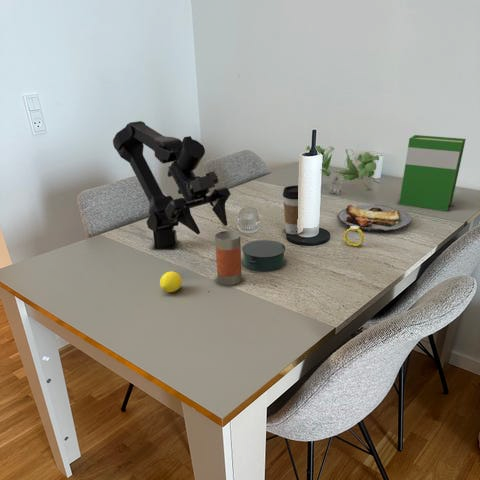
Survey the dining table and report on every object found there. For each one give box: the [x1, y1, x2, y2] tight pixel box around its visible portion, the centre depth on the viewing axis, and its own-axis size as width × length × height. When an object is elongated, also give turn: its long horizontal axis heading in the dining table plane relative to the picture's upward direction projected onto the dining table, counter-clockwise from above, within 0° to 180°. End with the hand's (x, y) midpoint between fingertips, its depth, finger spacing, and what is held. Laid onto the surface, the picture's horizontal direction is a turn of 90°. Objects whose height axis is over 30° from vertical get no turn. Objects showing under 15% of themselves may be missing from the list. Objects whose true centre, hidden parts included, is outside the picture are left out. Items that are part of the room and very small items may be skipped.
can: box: [214, 230, 242, 286], centre depth 125 cm, size 7×7×13 cm
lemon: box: [159, 270, 183, 293], centre depth 123 cm, size 7×5×5 cm
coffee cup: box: [282, 185, 299, 236], centre depth 154 cm, size 8×8×15 cm
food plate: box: [336, 204, 413, 232], centre depth 163 cm, size 25×23×4 cm
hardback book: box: [398, 134, 467, 212], centre depth 172 cm, size 18×7×24 cm, turn 58°
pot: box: [241, 239, 286, 272], centre depth 137 cm, size 13×16×4 cm
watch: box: [343, 226, 365, 247], centre depth 145 cm, size 6×3×6 cm, turn 57°
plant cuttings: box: [305, 145, 381, 195], centre depth 193 cm, size 35×17×22 cm
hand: (212, 229), depth 126 cm, fingers open, 9 cm apart
